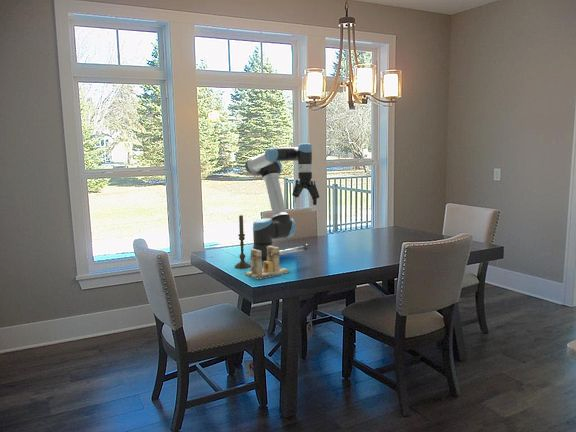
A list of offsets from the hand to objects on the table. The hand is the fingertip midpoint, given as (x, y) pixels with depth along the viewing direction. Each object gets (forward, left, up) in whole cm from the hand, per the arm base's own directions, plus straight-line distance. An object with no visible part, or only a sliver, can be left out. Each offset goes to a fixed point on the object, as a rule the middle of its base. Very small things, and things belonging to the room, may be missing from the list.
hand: (305, 209), depth 264 cm
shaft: (+6, -10, -24) cm, 27 cm away
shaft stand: (+14, -24, -32) cm, 42 cm away
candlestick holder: (-4, -36, -32) cm, 48 cm away
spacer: (+14, -23, -30) cm, 41 cm away
